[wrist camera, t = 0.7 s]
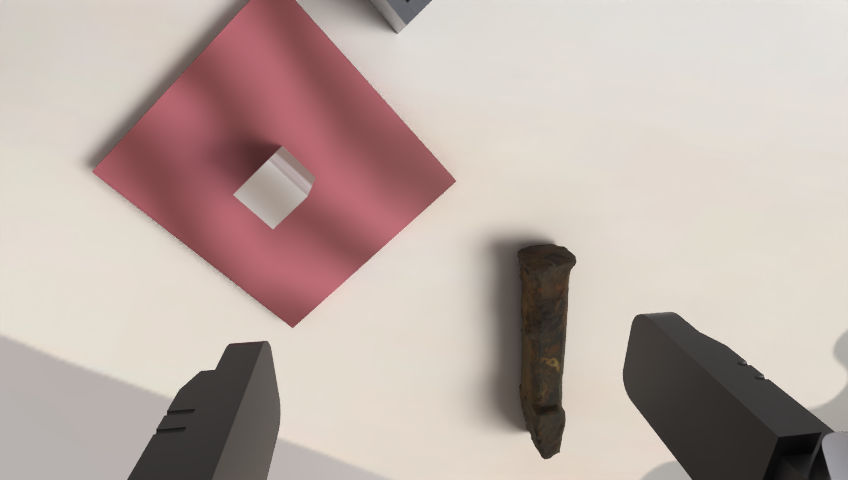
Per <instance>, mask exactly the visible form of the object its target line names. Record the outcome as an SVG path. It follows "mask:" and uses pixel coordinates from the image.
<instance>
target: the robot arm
mask: <svg viewBox="0 0 848 480" xmlns="http://www.w3.org/2000/svg"><path fill="white" fill-rule="evenodd" d="M623 381H624V386H625V389H626V392H627V394H628V396H629V398H630V400H631V401H632V402H633V404H634V405H635V406H636V407H637V409H638V410H639V411H640V413H641V414H642V415H643V417H644V418H645V419H646V420H647V422H648V423H649V424H650V426H651V427H652V428H653V429H654V431H655V432H656V433H657V435H658V436H659V437H660V439H661V440H662V441H663V442H664V444H665V445H666V446H667V448H668V449H669V450H670V451H671V453H672V454H673V455H674V457H675V458H676V459H677V461H678V462H679V463H680V464H681V466H682V467H683V468H684V469H685V471H686V472H687V473H688V475H689V476H690V477H691V479H692V480H848V432H843V431H841V432H834V431H833V430H832V429H831V428H829V427H828V426H827V425H826V424H824V423H823V422H822V421H821V420H819V419H818V418H817V417H816V416H814V415H813V414H812V413H810V412H809V411H808V410H807V409H805V408H804V407H803V406H802V405H800V404H799V403H798V402H797V401H795V400H794V399H793V398H792V397H790V396H789V395H788V394H787V393H785V392H784V391H783V390H782V389H780V388H779V387H778V386H777V385H775V384H774V383H773V382H771V381H770V380H769V379H766V380H765V378H764V375H763V374H761V373H760V372H759V371H758V370H756V369H755V368H754V367H753V366H751V365H747V362H746V361H745V360H744V359H743V358H741V357H740V356H739V355H738V354H736V353H735V352H734V351H732V350H731V349H730V348H729V347H727V346H726V345H724V344H722V343H720V342H718V341H716V340H714V339H712V338H710V337H708V336H706V335H704V334H702V333H700V332H699V331H697V330H696V329H695V328H694V327H693V326H691V325H690V324H689V323H688V322H686V321H685V320H684V319H683V318H682V317H680V316H679V315H678V314H676V313H674V312H664V313H651V314H639V315H637V316H636V317H635V318H634V320H633V322H632V326H631V331H630V336H629V342H628V347H627V352H626V358H625V363H624V368H623ZM279 425H280V399H279V393H278V387H277V381H276V375H275V369H274V363H273V357H272V351H271V347H270V344H269V342H268V341H260V342H246V343H233V344H229V345H228V346H227V347H226V349H225V351H224V353H223V355H222V357H221V359H220V361H219V363H218V365H217V367H216V369H215V370H208V371H200V372H199V373H198V374H197V375H196V376H195V377H194V378H192V379H191V380H190V381H189V382H188V383H187V384H186V385H184V386H183V387H182V388H181V389H180V390H179V392H178V393H177V395H176V397H175V398H174V400H173V402H172V404H171V405H170V407H169V409H168V411H167V416H164V418H163V419H162V421H161V423H160V424H159V426H158V428H157V430H156V431H157V432H156V434H155V435H153V437H152V438H151V440H150V442H149V443H148V445H147V447H146V448H145V450H144V452H143V454H142V455H141V457H140V459H139V460H138V462H137V464H136V466H135V467H134V469H133V471H132V472H131V474H130V476H129V478H128V480H267V476H268V472H269V468H270V464H271V460H272V456H273V451H274V448H275V443H276V439H277V435H278V431H279Z"/></svg>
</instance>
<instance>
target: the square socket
mask: <svg viewBox="0 0 848 480" xmlns="http://www.w3.org/2000/svg"><path fill="white" fill-rule="evenodd" d="M370 1H371V2H372V3H373V5H374V6H375V7H376V8H377V9H378V11H379V12H380V13H381V14H382V15H383V17H384V18H385V19H386V20H387V22H388V23H389V24H390V25H391V26H392V28H393V29H394V30H395V31H396V32H397V34H398V33H399V32H400V31H401V30H402V29H403V28H404V27H405V26H406V25H407V24H408V23H409V22H410V21H411V20H412V19H413V18H414V17H415V16H416V15H417V14H418V13H419V12H420V11H421V10H423V9H424V8H425V7H426V6H427V5H428V4H429V3H430V2H431V1H432V0H410V1H409V2H408V3H407V2H406V0H370Z"/></svg>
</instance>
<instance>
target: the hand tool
mask: <svg viewBox="0 0 848 480" xmlns="http://www.w3.org/2000/svg"><path fill="white" fill-rule="evenodd" d="M518 257H519V259H520V260H519V263H520V265H521V268H520V278H521V280H522V282H523V283H522V298H521V305H522V306H521V315H522V318H523V325H522V329H521V331H522V384H521V385H520V399H521V406H522V409H523V414H524V417H525V421H526V423H527V424H526V427H527V430H528V431H529V432H530V434H531V439H532V441H533V443H534V445H535V447H536V448H537V450H538V451H539V453H540V454H541V457H542V458H544V459H549V458H551V457H552V456H553V455H555V454H557V453H558V452H560V446H561V441H562V434H563V431H564V427H565V411H564V410H563V408H562V375H563V367H564V355H565V342H566V325H567V311H568V290H569V289H568V284H569V275H570V271H571V269H572V268H573V266H575V264H576V257H575V256H574V255H573V254H572V253H571V252H570V251H568V250H567V248H565V247H560V246H556V245H537V246H531V247H527V248H524V249H521V250H520V251H519V252H518Z"/></svg>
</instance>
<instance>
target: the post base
mask: <svg viewBox="0 0 848 480" xmlns="http://www.w3.org/2000/svg"><path fill="white" fill-rule="evenodd" d="M92 172H93V173H94V174H95V175H97V176H98V177H99V178H101V179H102V180H103V181H104V182H106V183H107V184H108V185H110V186H111V187H112V188H113V189H115V190H116V191H117V192H119V193H120V194H121V195H122V196H124V197H125V198H126V199H128V200H129V201H130V202H131V203H133V204H134V205H135V206H137V207H138V208H139V209H140V210H142V211H143V212H144V213H146V214H147V215H148V216H149V217H151V218H152V219H153V220H155V221H156V222H157V223H158V224H160V225H161V226H162V227H164V228H165V229H166V230H167V231H169V232H170V233H171V234H173V235H174V236H175V237H176V238H178V239H179V240H180V241H182V242H183V243H184V244H185V245H187V246H188V247H189V248H191V249H192V250H193V251H194V252H196V253H197V254H198V255H200V256H201V257H202V258H203V259H205V260H206V261H207V262H209V263H210V264H211V265H212V266H214V267H215V268H216V269H218V270H219V271H220V272H221V273H223V274H224V275H225V276H226V277H228V278H229V279H230V280H232V281H233V282H234V283H235V284H237V285H238V286H239V287H241V288H242V289H243V290H244V291H246V292H247V293H248V294H250V295H251V296H252V297H253V298H255V299H256V300H257V301H259V302H260V303H261V304H262V305H264V306H265V307H266V308H268V309H269V310H270V311H271V312H273V313H274V314H275V315H277V316H278V317H279V318H280V319H282V320H283V321H284V322H286V323H287V324H288V325H289V326H291V327H292V328H293V327H294V326H296V325H297V324H298V323H299V322H300V321H301V320H302V319H303V318H304V317H306V316H307V315H308V314H309V313H310V312H311V311H312V310H313V309H314V308H316V307H317V306H318V305H319V304H320V303H321V302H322V301H323V300H325V299H326V298H327V297H328V296H329V295H330V294H331V293H332V292H333V291H335V290H336V289H337V288H338V287H339V286H340V285H341V284H342V283H343V282H345V281H346V280H347V279H348V278H349V277H350V276H351V275H352V274H353V273H355V272H356V271H357V270H358V269H359V268H360V267H361V266H362V265H364V264H365V263H366V262H367V261H368V260H369V259H370V258H371V257H372V256H374V255H375V254H376V253H377V252H378V251H379V250H380V249H381V248H382V247H384V246H385V245H386V244H387V243H388V242H389V241H390V240H391V239H392V238H394V237H395V236H396V235H397V234H398V233H399V232H400V231H401V230H403V229H404V228H405V227H406V226H407V225H408V224H409V223H410V222H411V221H413V220H414V219H415V218H416V217H417V216H418V215H419V214H420V213H421V212H423V211H424V210H425V209H426V208H427V207H428V206H429V205H430V204H431V203H433V202H434V201H435V200H436V199H437V198H438V197H439V196H440V195H442V194H443V193H444V192H445V191H446V190H447V189H448V188H449V187H450V186H452V185H453V184H454V183H455V182H456V180H455V179H454V178H453V177H452V176H451V174H450V173H449V172H448V171H447V170H446V169H445V168H444V167H443V165H442V164H441V163H440V162H439V161H438V160H437V159H436V158H435V157H434V155H433V154H432V153H431V152H430V151H429V150H428V149H427V148H426V146H425V145H424V144H423V143H422V142H421V141H420V140H419V139H418V137H417V136H416V135H415V134H414V133H413V132H412V131H411V130H410V128H409V127H408V126H407V125H406V124H405V123H404V122H403V121H402V120H401V118H400V117H399V116H398V115H397V114H396V113H395V112H394V111H393V109H392V108H391V107H390V106H389V105H388V104H387V103H386V102H385V100H384V99H383V98H382V97H381V96H380V95H379V94H378V93H377V91H376V90H375V89H374V88H373V87H372V86H371V85H370V84H369V83H368V81H367V80H366V79H365V78H364V77H363V76H362V75H361V74H360V72H359V71H358V70H357V69H356V68H355V67H354V66H353V65H352V63H351V62H350V61H349V60H348V59H347V58H346V57H345V56H344V55H343V53H342V52H341V51H340V50H339V49H338V48H337V47H336V46H335V44H334V43H333V42H332V41H331V40H330V39H329V38H328V37H327V35H326V34H325V33H324V32H323V31H322V30H321V29H320V28H319V26H318V25H317V24H316V23H315V22H314V21H313V20H312V19H311V18H310V16H309V15H308V14H307V13H306V12H305V11H304V10H303V9H302V7H301V6H300V5H299V4H298V3H297V2H296V1H295V0H250V1H249V2H248V3H247V4H246V5H245V6H244V7H243V8H242V9H241V11H240V12H239V13H238V14H237V15H236V16H235V17H234V18H233V19H232V20H231V21H230V22H229V24H228V25H227V26H226V27H225V28H224V29H223V30H222V31H221V32H220V33H219V34H218V35H217V37H216V38H215V39H214V40H213V41H212V42H211V43H210V44H209V45H208V46H207V47H206V48H205V50H204V51H203V52H202V53H201V54H200V55H199V56H198V57H197V58H196V59H195V60H194V61H193V63H192V64H191V65H190V66H189V67H188V68H187V69H186V70H185V71H184V72H183V73H182V75H181V76H180V77H179V78H178V79H177V80H176V81H175V82H174V83H173V84H172V85H171V86H170V88H169V89H168V90H167V91H166V92H165V93H164V94H163V95H162V96H161V97H160V98H159V99H158V101H157V102H156V103H155V104H154V105H153V106H152V107H151V108H150V109H149V110H148V111H147V112H146V114H145V115H144V116H143V117H142V118H141V119H140V120H139V121H138V122H137V123H136V124H135V125H134V127H133V128H132V129H131V130H130V131H129V132H128V133H127V134H126V135H125V136H124V137H123V139H122V140H121V141H120V142H119V143H118V144H117V145H116V146H115V147H114V148H113V149H112V150H111V152H110V153H109V154H108V155H107V156H106V157H105V158H104V159H103V160H102V161H101V162H100V163H99V165H98V166H97V167H96V168H95V169H94V170H93V171H92Z"/></svg>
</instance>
